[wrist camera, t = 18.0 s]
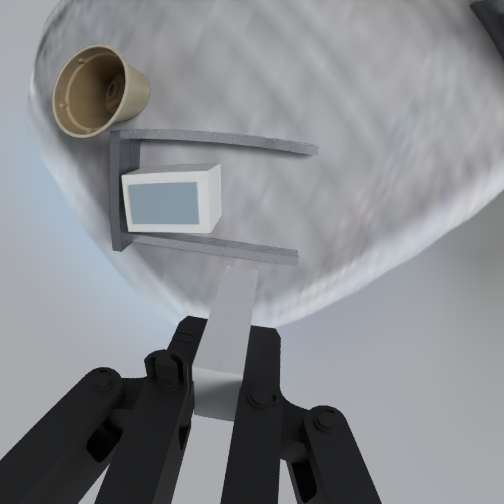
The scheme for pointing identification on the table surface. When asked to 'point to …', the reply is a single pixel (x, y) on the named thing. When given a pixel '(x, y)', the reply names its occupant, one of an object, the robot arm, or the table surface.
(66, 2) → the table surface
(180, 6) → the table surface
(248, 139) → the rail
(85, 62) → the flower pot
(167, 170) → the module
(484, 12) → the faucet
